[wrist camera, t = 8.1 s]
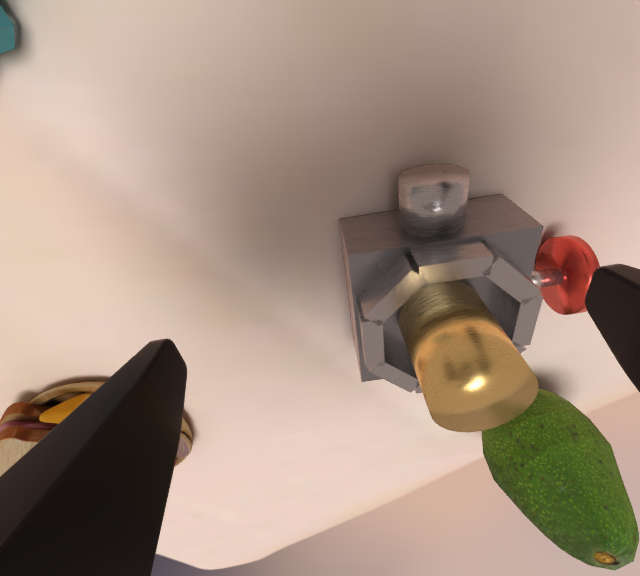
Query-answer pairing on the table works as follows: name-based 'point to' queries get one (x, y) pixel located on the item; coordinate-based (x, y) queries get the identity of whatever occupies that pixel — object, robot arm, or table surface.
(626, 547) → the avocado
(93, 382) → the toy sandwich meal
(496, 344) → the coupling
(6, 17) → the butterfly valve
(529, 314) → the valve
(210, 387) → the table surface
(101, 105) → the table surface
